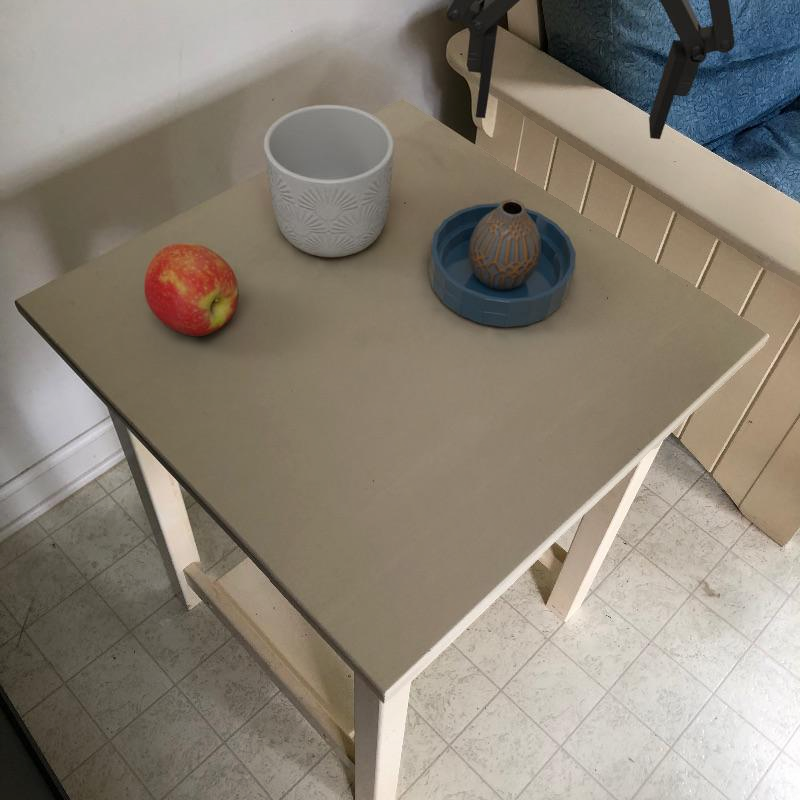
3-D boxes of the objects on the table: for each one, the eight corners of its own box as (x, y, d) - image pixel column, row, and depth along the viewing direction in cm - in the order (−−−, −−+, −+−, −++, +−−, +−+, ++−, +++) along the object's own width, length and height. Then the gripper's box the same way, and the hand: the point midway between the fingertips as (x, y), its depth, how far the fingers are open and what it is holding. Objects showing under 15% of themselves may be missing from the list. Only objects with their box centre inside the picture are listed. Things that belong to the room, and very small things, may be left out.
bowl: (564, 340, 79) (573, 311, 76) (419, 319, 80) (422, 290, 77) (569, 243, 87) (577, 213, 84) (438, 225, 88) (441, 195, 85)
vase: (506, 244, 86) (519, 175, 79) (547, 285, 83) (565, 216, 76) (452, 267, 84) (460, 197, 77) (492, 310, 80) (505, 241, 73)
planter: (409, 251, 86) (415, 163, 77) (297, 283, 82) (290, 195, 73) (363, 181, 92) (363, 93, 84) (257, 208, 89) (246, 119, 80)
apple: (193, 364, 75) (178, 303, 69) (135, 318, 78) (115, 256, 72) (257, 317, 79) (248, 255, 73) (199, 275, 82) (186, 212, 76)
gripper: (844, -203, 50) (723, 110, 67) (436, -241, 52) (417, 74, 68) (868, -159, 45) (732, 166, 62) (419, -202, 47) (404, 126, 64)
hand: (567, 118), depth 65 cm, fingers open, 13 cm apart
